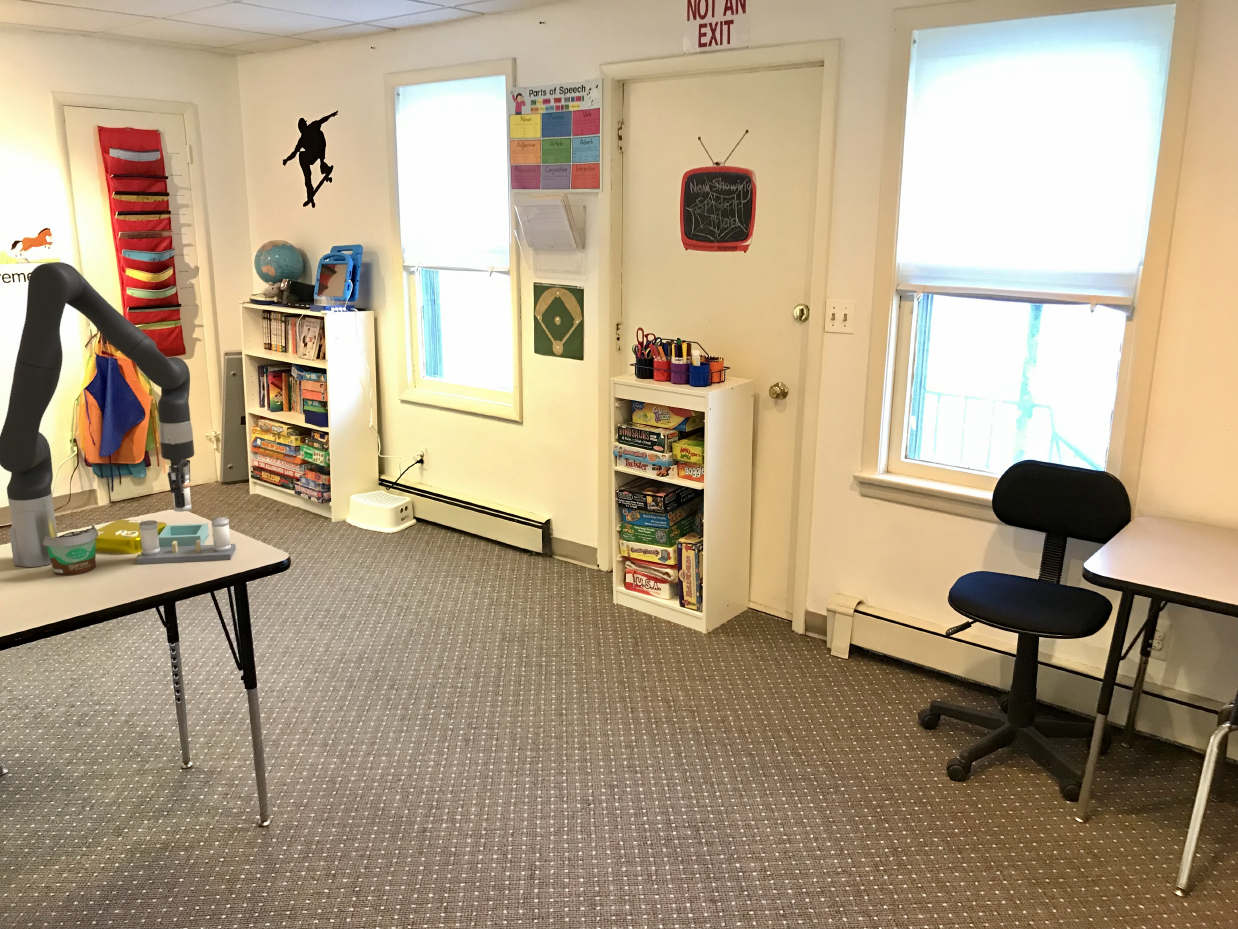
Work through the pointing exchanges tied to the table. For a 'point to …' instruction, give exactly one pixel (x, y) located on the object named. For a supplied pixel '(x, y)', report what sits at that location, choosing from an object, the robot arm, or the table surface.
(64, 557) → the food container
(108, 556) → the table surface
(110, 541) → the element tile
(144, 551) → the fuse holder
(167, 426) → the robot arm
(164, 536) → the tray
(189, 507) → the marked fuse
